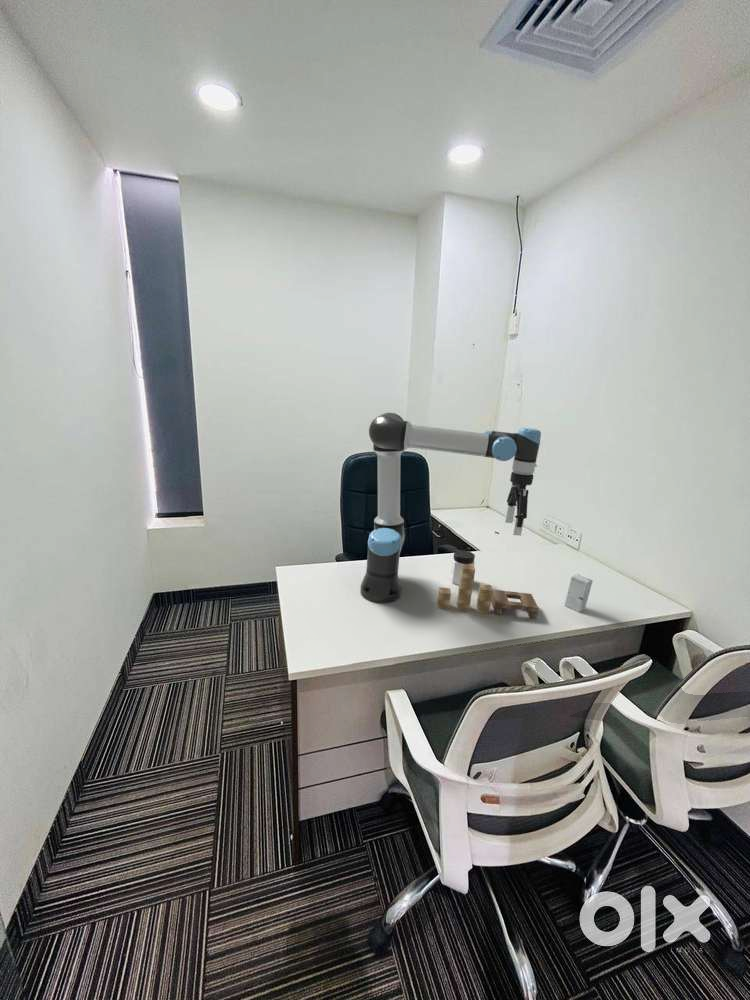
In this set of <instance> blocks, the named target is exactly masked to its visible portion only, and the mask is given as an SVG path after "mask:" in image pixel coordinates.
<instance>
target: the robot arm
mask: <svg viewBox="0 0 750 1000" xmlns="http://www.w3.org/2000/svg"><path fill="white" fill-rule="evenodd" d="M368 435H369V438H370V441H371V442H372V444H373V448H372V449H373V452H374V453H375V454H376V456H377V516H376V517H375V518H374V520H373V530H372V531H371V532H369V535H368V540H367V557H366V558H367V559H366V571H365V575H364V576H363V578H362V581H361V583H360V590H359V591H360V595H361V596H362V597H364V598H365V599H366V600H369V601H371V602H374V603H375V602H376V603H390V602H392V603H393V602H394V601H397V600H398V599H399V598H401V594H402V586H401V583H400V579H399V578H400V577H399V575H398V574H399V566H400V554H401V553H402V552H401V551H402V548H403V545H404V543H405V540H406V531H405V519H404V518H403V517H402V516H401V455H402V453H404V452H405V451H406V450H408V449H410V448H411V449H415V450H416V449H417V450H419V449H420V450H427V451H432V452H434V451H435V452H443V453H451V454H460V455H467V456H468V455H469V456H475V457H485V458H491V459H495V460H497V461H499V462H506V461H510V460H511V459H513V461H512V467H511V468H512V469H511V470H512V471H511V475H510V483H511V488H510V489H509V493H508V497H507V500H506V503H507V507H506V508H507V509H506V513H505V518H504V523H505V524H506V523H508V524H514V525H513V529H512V530H513V531H512V535H513V536H520V537H521V536H522V532H523V527H524V521H525V519H527V518H528V502H529V501H528V499H529V489H527V486H531V485H532V484H533V480H534V473H535V468H536V467H538V465H537V464H536V463H537V459H538V455H539V454H538V453H539V449H540V446H541V438H542V437H541V436H542V432H541V431H540V430H539V429H536V428H530V427H529V428H528V427H521V428H519V429H518V431H517V432H515V433H513V432H505V431H495V430H485V431H483V432H474V431H467V430H466V431H464V430H459V429H457V430H456V429H449V428H439V427H433V426H424V425H423V426H422V425H416V424H412V423H411V422H410V421H408V420H404V419H403V417H401V415H399V414H397V413H395V412H384V413H381V414H380V415H378V416H376V417H375V418H374V419H373V420H372V421H371V422H370V424H369V428H368ZM515 510H516V515H515ZM514 518H515V519H514ZM513 521H514V523H513Z"/></svg>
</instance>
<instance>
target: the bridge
mask: <svg viewBox="0 0 750 1000" xmlns="http://www.w3.org/2000/svg"><path fill="white" fill-rule="evenodd" d="M509 599H513V600H514V599H515V600H519V602H518V601H511V600H510V601H509ZM491 606H492V609H493V612H494V615H497V616H501V615H502V611H503V608H504V609H511V610H519V611H526V612H527V615H528V617H529V619H531V620H537V617H538V613H539V605H538V603H537V602H536V599H534V596H533V595H532V593H529V592H528V593H526V592H518V591H510V590H509V591H508V590H502V589H501V590H500V589H499V590H498V589H493V594H492V601H491Z"/></svg>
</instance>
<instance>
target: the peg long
mask: <svg viewBox="0 0 750 1000" xmlns="http://www.w3.org/2000/svg"><path fill="white" fill-rule="evenodd" d="M475 572H476V567H475V564H474V565H469V564H462V570H461V577H460V584H459V585H458V594H457V599H456V600H457V601H456V608H457V611H463V612H470V608H471V602H472V594H473V587H474V580H475Z"/></svg>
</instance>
